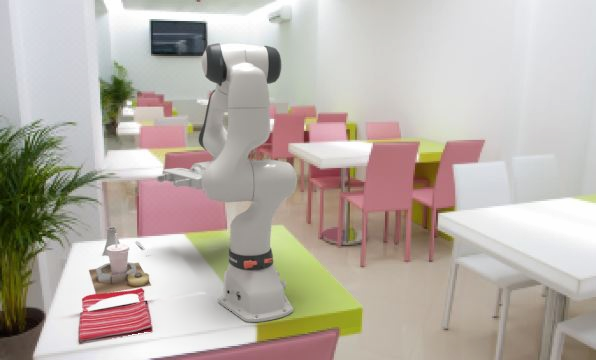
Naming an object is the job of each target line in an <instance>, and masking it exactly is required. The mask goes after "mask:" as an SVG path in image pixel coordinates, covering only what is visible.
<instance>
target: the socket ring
mask: <svg viewBox="0 0 596 360" xmlns="http://www.w3.org/2000/svg"><path fill="white" fill-rule="evenodd" d="M133 263H134V262H128V261H127V272H125V273H119V274H113V275H112V274H107V273H108V272H112V270H111V265H110V262H109V263H104V264H102V265H100V266H99V267H97V268H95V269H96V276H97V280H98V282H100V283H106V284H117V283H123V282H127V281H128V276H129V275H131V274H134V273H137V269H136V266H135V264H133Z"/></svg>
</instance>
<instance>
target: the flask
mask: <svg viewBox="0 0 596 360" xmlns="http://www.w3.org/2000/svg"><path fill="white" fill-rule="evenodd" d="M117 229H118V227H116V226H109V227H107V228H106V231H107V239H106V242H105V245H104V248H103V252H102V256H106V257H109V255H108V253H107V247H109V246H111V245H115V234H117ZM117 244H121V242H120V241H119V238H118V237H117Z"/></svg>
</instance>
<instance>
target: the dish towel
mask: <svg viewBox="0 0 596 360" xmlns="http://www.w3.org/2000/svg"><path fill="white" fill-rule="evenodd" d="M132 294H133V295H137V298H138V301H135V302H131V303H125V304H120V305H115V306H110V307H104V308H98V309H93V310H89V309H88V308H90V307H92V306H94V305H96V304H98V303H99V302H101V301H104V300H108V299H110V298H111V299H113V298H116V297H120V296H121V297H122V296H124V295H132ZM148 303H149V302H148V300H147V299H146V300H145V290H144V289H143V287H139V288H135V289H129V290H122V291H116V292H110V293H102V294H96V293H93V294H88V295H85V296H84V297H82V298H81V305H82V306H81V307H82V311H81V312H80V313H79V325H78V342H79V343H81V344H88V343H94V342H99V341H106V340H111V339H112V338H114V339H118V338H117V337H120V338H124V337H123V336H127V337H129V336H128V335H132V334H138V333H144V332H151V331H152V332H153V322H152V316H151V312H150V308H149V304H148ZM151 323H152V324H151ZM152 332H151V333H152ZM112 340H113V339H112Z"/></svg>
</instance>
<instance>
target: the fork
mask: <svg viewBox="0 0 596 360" xmlns="http://www.w3.org/2000/svg"><path fill="white" fill-rule="evenodd" d="M135 241H136V242H135ZM135 241H134V243H135V244H136V245H137V246H138V247H140V248H141V249H142V251H145V250H146V249H145V248H144V246H143V245H142V243H141V242H140V241H139V242H138V240H135ZM149 256H150V255H148V256H147V257H149Z"/></svg>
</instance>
